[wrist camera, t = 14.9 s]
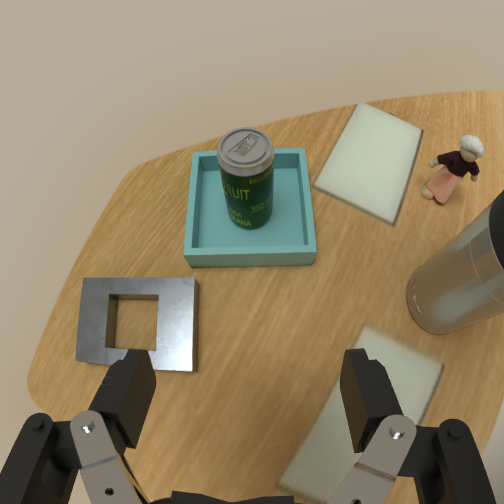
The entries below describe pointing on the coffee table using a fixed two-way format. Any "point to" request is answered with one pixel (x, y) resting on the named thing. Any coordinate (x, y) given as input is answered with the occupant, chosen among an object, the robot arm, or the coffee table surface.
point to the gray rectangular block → (168, 324)
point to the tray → (244, 239)
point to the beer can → (247, 175)
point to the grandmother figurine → (453, 169)
